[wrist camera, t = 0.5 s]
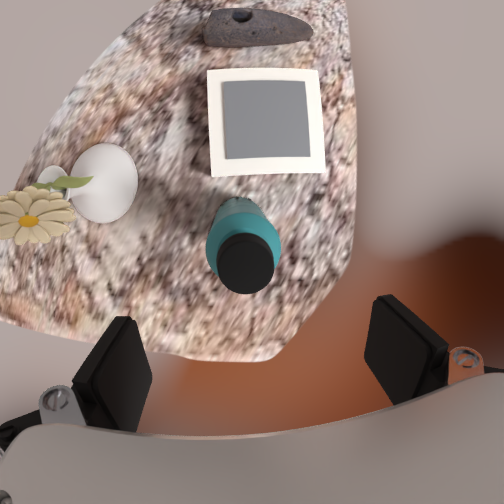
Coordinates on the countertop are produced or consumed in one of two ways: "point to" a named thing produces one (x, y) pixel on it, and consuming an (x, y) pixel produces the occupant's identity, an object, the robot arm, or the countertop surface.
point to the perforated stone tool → (253, 28)
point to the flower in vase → (71, 195)
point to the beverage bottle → (242, 246)
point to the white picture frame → (265, 121)
